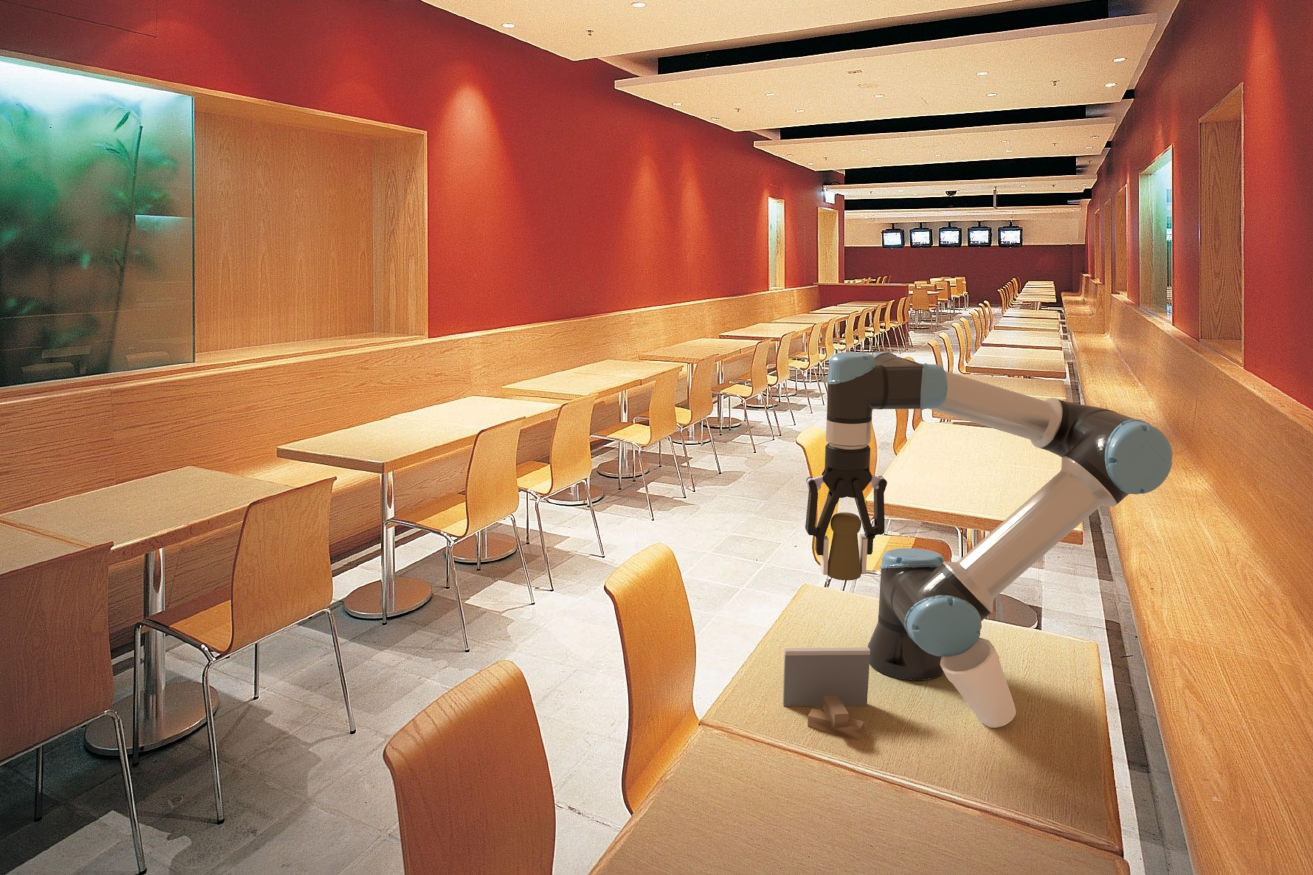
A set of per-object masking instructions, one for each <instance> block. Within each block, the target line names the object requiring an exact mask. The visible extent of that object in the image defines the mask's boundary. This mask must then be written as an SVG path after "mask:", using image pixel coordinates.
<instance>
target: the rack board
mask: <svg viewBox="0 0 1313 875" xmlns="http://www.w3.org/2000/svg"><path fill="white" fill-rule="evenodd" d="M783 655H784V661H783V662H784V664H783V684H782V685H783V687H782V688H783V692H782V705H783V707H823V704H824V696H833V695H837V696H838V697H839V699H840V700H841V702H842V704H843V705H844V707H845V706H848V707H849V706H851V707H853V706H855V707H856V706H857V707H858V706H863V707H865V706H867V705H868V695H869V694H868V693H869V678H870V675H869V673H870V664H869V662H870V649H869V647H868V646H866V647H785V648H784V654H783Z"/></svg>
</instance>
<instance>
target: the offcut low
mask: <svg viewBox="0 0 1313 875" xmlns="http://www.w3.org/2000/svg"><path fill="white" fill-rule="evenodd" d="M807 727H808V728H812V729H816V730H820V731H824V732H827V733H831V734H836V735H839V736H844V737H846V738H851V739H855V740H859V741H860V740H861V737H862V736H863V734H864V728H865V721H864V720H861V719H859V718H858V719H856V718H852V717H849V719H848V727H840V728H834V727H833V725H832V723H831V722H830V720H829V718H828V716H827V715H826V713H825V711H824V710H821V709H816V708H814V707H813V708H811V710H810V712H809V713H808V715H807Z"/></svg>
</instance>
